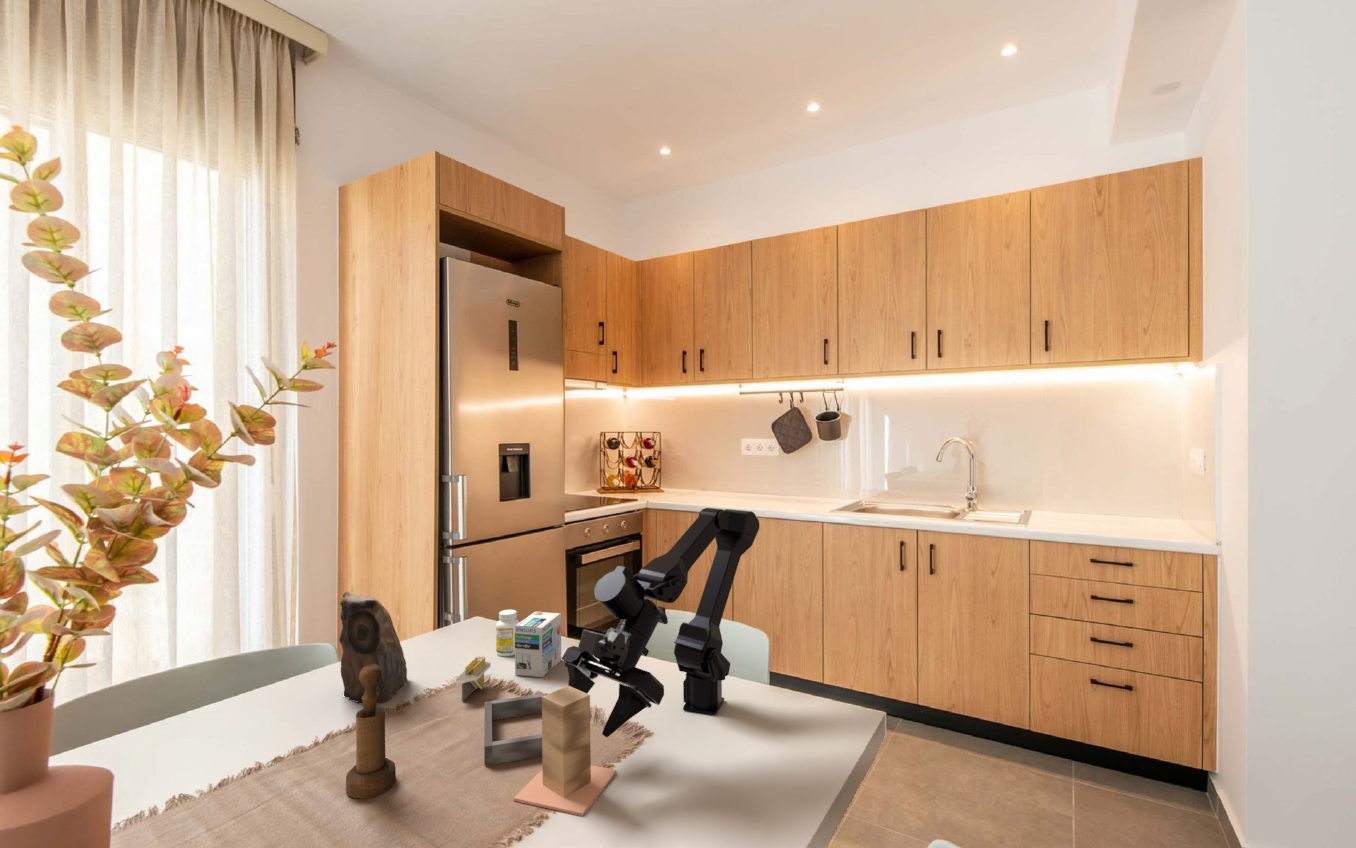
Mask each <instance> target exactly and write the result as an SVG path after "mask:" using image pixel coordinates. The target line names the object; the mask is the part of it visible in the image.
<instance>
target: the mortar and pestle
mask: <svg viewBox="0 0 1356 848" xmlns="http://www.w3.org/2000/svg"><path fill="white" fill-rule="evenodd" d="M381 675H382V671H381V668H380V667H379V666H378V665H376V664H370V665H367V666H365V667H363V668H362V669H361V671H360V674H359V680H360V682H361V683H362V685H363V686H364V688H365V694H364V695H363V696H362V702H363V708H362V709H360V710H358V711H357V712H356V714H355V731H356V733H355V734H356V735H355V736H356V737H355V738H356V740H355V742H356V744H355V745H356V747H355V748H356V750H355V753H356V754H355V755H356V757H355V758H356V759H355V761H356V763H355V765H353V767H352V768H351V769H349V771H348V772H347V773H346V776H345V794H346V795H347V796H348V797H349V796H350V798H352V797H353V798H352V799H360V800H361V799H369V798H372V797H377V796H380V795H381V794H383V793H385V792H387V791H389V790H390V789H391V788H392V787H393V786H394V784H395V783H396V779H397V775H396V774H397V773H396V769H397V768H396V764H395V762H394V761H393V760H391V759H389V758H388V757H386V707H385V706H383V705H378V703H377V702H378V697H379V694H378V693H376V686H377V684H378V682H379V680H380V678H381Z"/></svg>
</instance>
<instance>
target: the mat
mask: <svg viewBox="0 0 1356 848" xmlns="http://www.w3.org/2000/svg"><path fill="white" fill-rule="evenodd" d="M616 774H617V769H613V768H608V767H603V766H597V765H592V764H591V782H590V783H589V784H587V785H585V786H583V787H582V788H580V789H578V790H577V791H575V792H573V793H571V794H570V795H568V796H566V797H565V798H563V797H562V796H560V795H558V794H557V793H555V792H554V791H552V790H551V789H549V788H547V787H546V786H544V785H543V768H542V769H541V770H540V771H539V772H538V773H537V774H536V775H535V776H534V777H533V778H532V779H531V780H530V781H529V782H528V783H527V784H526V785H525V786H524V787H523V788H522V789H521V790H520V791H519V792H518V793H517V794H516V795H515V796H514V797H513V801H514V802H518V803H523V804H526V805H531V806H535V807H539V808H540V807H541V808H545V809H548V810H549V809H550V810H554V811H557V812H560V813H561V812H562V813H567V814H571V815H575V816H581V817H583V816H584V815H585V814H586V812H588V810H589V809H590V807H591V806H592V805H593V803H594V802H595V801H596V800H597V799H598V797H599V795H600V794H601V793H602V792H603V790H604V789H605V788H606V787H607V786H608V784H609V783H610V782H611V781H612V779H613V778H614V777H615V775H616Z"/></svg>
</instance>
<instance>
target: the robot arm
mask: <svg viewBox="0 0 1356 848" xmlns="http://www.w3.org/2000/svg"><path fill="white" fill-rule="evenodd" d="M756 515H757V514H755V512H753V511H750V510H749V511H748V510H741V509H733V508H731V509H730V508H725V509H722V508H714V507H713V508H712V507H705V508H702V509H701V510H700V511H699V514H698V517H697V518H696V519H695V520H694V522H693V523H692V524H691V525H690V526H689V527H688V528H687V530H686V531H684V533H683V534H682V536H681V537H679V539H678V540H677V541H676V542H675V544H674V545H673V546H672V547H671V548H670V549H669V550H668V551H667V552H666V553H665V554H662V555H660V556H657V557H655V558H653V559H652V560H651V561H649V562H648V563H647V564H646V565H644V566H643V567H642V568H641V569H640V570H639V572H638V573H636V574H632V572H631V571H630V569H629V568H628V567H627V566H623V565H617V566H616V567H615V569H614V570H612V571H610V572H608V573H607V574H604V575H603V576H602V577H601V578H599V579H598V581H597V582H596V585H595V586H594V590H593V593H594V594H593V595H594V597H595V599H596V600H597V601H598V602H599V603H600V604H601V606H603V607H604V608H605V609H606V610H607V611H608V612H609V613H610V614H611V615H612V616H613V617H614V618H616V619H617V620H620V621H619V623H618V624H617V626H616V628H613V627H609V629H607V631H606V633H605V634H604V633H601V632H596V631H592V630H587V629H582V633H581V636H580V638H579V639H580V640H579V642H578V646H575V645H572V646H569V647H567V648H566V650H565V652H564V654H563V655H562V656H561V661H564V668H565V669H567V673H568V683H567V684H568V685H567V686H571V687H573V688H575V689H578V690H580V691H582V692H584V693H587V694H589V693H590V691H591V689H592V688H593V687H594V685H596V682H594V681H593V680H594V679H595V678H597V677H599V676H601V677H604V678H606V679H609V680H612V681H614V682H617V683H618V697H617V700H616V702H615V704H614V706H613V708H612V710H611V712H610V715H609V716H608V718H607V720H606V722H605V725H604V728H603V730H602V733H601V735H603V736H604V737H605V738H609V737H610V736H611V735H612V734H613V733H614V732H616V731H617V730H618V729H620V727H622V726H624V724H625V723H627V722H628V721H629V720H630V719H631V718H633V717H635V716H636V715H637V714H639V713H640V712H642V711H643V710H644V709H645V708H648V709H650V708H651V707H652V706H653V705H652V704H654V705H657V706H659V705H660V704H661V701H662V700H663V697H664V696H665V687H664V684H663V683H662V682H660V680H658V679H657V677H656V676H654V675H653V674H652V672H649V671H647V670H644V669H641V668H639V667H636V666H637V664H638V663H639V661H640V659H641V656H643V657H648V654H649V653H650V650H649V649H648V648H647V645H648V643H649V641H650V639H651V637H652V635H653V633H654V631H655V629H656V627H657V626H658V624H664V625H667V624H668V622H669V621H668V619H669V618H668V616H667V613H666V607H664V606H660V605H657V604H656V603H655V602H654V601H657V602H662V603H666V604H673V603H675V602H676V601H677V600H678V599H679V597H680V596H681V594H682V593H683V590H684V589H685V588H686V586H687V584H688V577H689V571H690V570H691V568H692V567H693V566H694V564H695V563H696V562H697V560H699V558H700V557H701V555H702V554H703V553H704V552H705V551H706V550H707V549H708V547H709V546H710V545H711V543H712V542H713V540H714V539H715V543H716V546H717V547H716V550H715V554H714V557H713V560H712V564H711V566H710V569H709V573H708V575H707V579H706V582H705V585H704V588H703V591H702V594H701V597H700V600H699V603H698V607H697V610H696V611H695V616H694V618H692V619H691V620H690V621H689V622H684V621H683V622H682V623H681V624H680V626H679V630H678V635H676V636H677V637H676V638H675V640H674V644H675V645H674V649H673V654H674V656H675V660H676V663H677V667H678V672H681V673H685V679H684V680H683V682H682V684H683V686H682V687H683V690H682V691H683V698H682V699H683V703H684V705H683V707H682V710H683V711H688V712H693V713H694V712H695V713H701V714H706V715H707V714H708V715H717V714H718V712H719V711H720V709H721V707H722V705H723V704H724V702H725V697H723V696H722V694H723V688H722V687H723V686H722V685H723V684H722V683H723V682H722V681H725V680H726V677H727V676H728V675H729V674H730V668H731V662H730V661H729V660H728V659H727V657H725V656H724V655H723V653H722V650H723V644H724V643H723V637H722V633H721V629H720V625H721V621H722V619H723V615H724V611H725V609H726V606H727V602H728V599H729V595H730V592H731V589H732V586H733V582H734V580H735V576H736V572H737V570H738V567H739V562H740V560H741V557H742V555H743V554H744V553H746V552H747V551H748V550H749V549H750V548H751V547H752V546H753V544H754V542H755V539H756V537H757V535H758V532H759V530H760V520H759V518H758V517H757V516H756Z"/></svg>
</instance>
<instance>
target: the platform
mask: <svg viewBox="0 0 1356 848" xmlns="http://www.w3.org/2000/svg"><path fill="white" fill-rule="evenodd" d="M491 667H492V666H491V662H489V661H486V656H482V658H481V656H476V657H475V658H474V659H472V661H470V663H469V664H467V665H466V666H465V667H464V669H465V670H464V671H463V672H462V673H461V674H459V675H458V676H457V677H456V678H455V680H454V681H455V683H456V684H461V702H462V701H463V700H464V701H466V699H468V697H469V696H470V695H471V694H472V693H473V692H474V691H475V690H477V689H480V690H483V689H484V688H485V673H486V672H487V671H488V670H489V669H490V668H491ZM475 688H476V689H475ZM474 689H475V690H474ZM473 690H474V691H473ZM472 691H473V692H472ZM471 692H472V693H471ZM470 693H471V694H470ZM469 694H470V695H469ZM468 695H469V696H468ZM467 696H468V697H467ZM465 698H466V699H465ZM464 701H463V702H464Z"/></svg>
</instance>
